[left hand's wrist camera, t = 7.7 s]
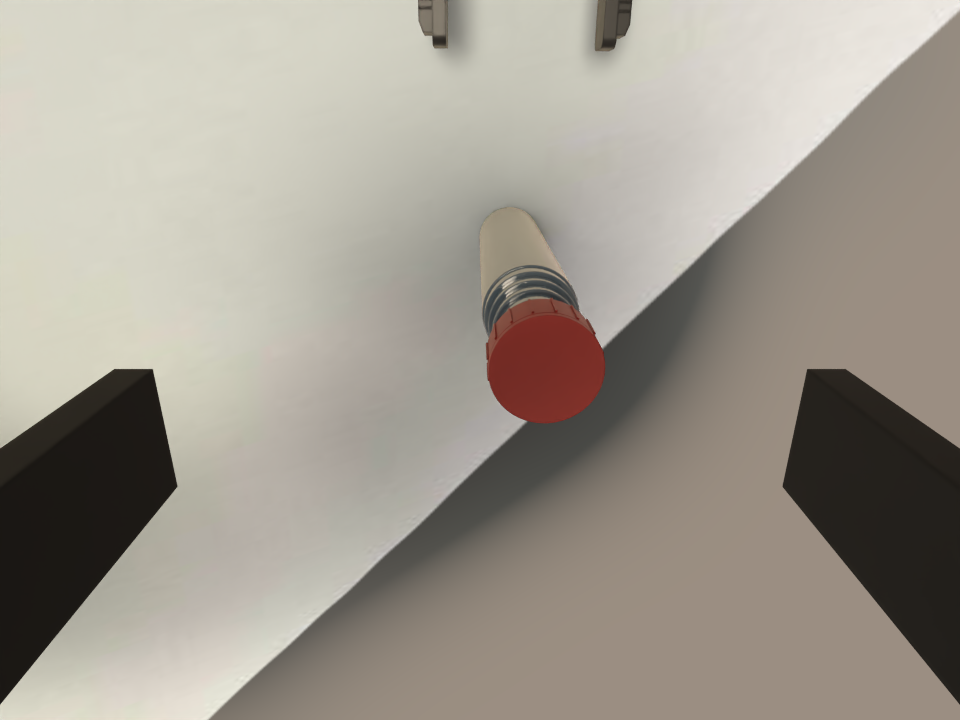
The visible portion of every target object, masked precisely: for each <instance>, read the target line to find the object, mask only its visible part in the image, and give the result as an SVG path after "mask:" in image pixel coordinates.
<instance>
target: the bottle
mask: <svg viewBox="0 0 960 720" xmlns="http://www.w3.org/2000/svg"><path fill="white" fill-rule="evenodd" d="M479 240H480V269H481V297H482V318H483V323H484V327H485V329H486V333H487V335H488V337H489V336H490V333H491V331H492V329H493V324H494V323H495V324H496V322H497V321H498V320H499V318H500V317H501V316H502V315H503V314H504V313H505V312H507V311H508V309H509V308H510V309H511V308H512V307H514V306H516V305H518V304H520V303H522V302H525V301H528V299H530V300H533V299H550V298H553V300H557V301H561V302H563V303H566V304H568V305H570V306H571V305H573V307H574V308H575V309H576V310H577V311H578V312H579V306H578V302H577V297H576V295H575V292H574V290H573V288H572V286H571V284H570V283H569V281H568V279H567V277H566V276H565V274H564V272H563V270H562V269H561V267H560V265H559V263H558V261H557V260H556V258H555V256H554V254H553V253H552V251H551V249H550V247H549V246H548V244H547V242H546V240H545V239H544V237H543V235H542V233H541V232H540V230H539V228H538V226H537V224H536V223H535V221H534V220H533V218H532V217H531V216H530V215H529V214H528V213H526V212H525V211H523V210H521V209H518V208H513V207H506V208H501V209H499V210H496V211H494V212H493V213H492V214H490V215H489V216H488V217H487V218H486V220H485V221H484V223H483V224H482V227H481V230H480V236H479Z"/></svg>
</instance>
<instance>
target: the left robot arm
mask: <svg viewBox="0 0 960 720" xmlns="http://www.w3.org/2000/svg"><path fill="white" fill-rule="evenodd" d="M176 488H177V482H176V477H175V473H174V468H173V463H172V458H171V454H170V449H169V444H168V439H167V435H166V430H165V425H164V420H163V416H162V411H161V406H160V401H159V397H158V392H157V387H156V383H155V378H154V373H153V369H114V370H113V371H111V372H110V373H108V374H107V375H105V376H104V377H102V378H101V379H100V380H98V381H97V382H95V383H94V384H92V385H91V386H90V387H88V388H87V389H85V390H84V391H82V392H81V393H79V394H78V395H77V396H75V397H74V398H72V399H71V400H69V401H68V402H67V403H65V404H64V405H62V406H61V407H59V408H58V409H56V410H55V411H54V412H52V413H51V414H49V415H48V416H46V417H45V418H44V419H42V420H41V421H39V422H38V423H36V424H35V425H33V426H32V427H31V428H29V429H28V430H26V431H25V432H23V433H22V434H21V435H19V436H18V437H16V438H15V439H13V440H12V441H10V442H9V443H8V444H6V445H5V446H3V447H2V448H0V704H1V703H2V702H3V700H4V699H5V698H6V697H7V695H8V694H9V693H10V692H11V691H12V689H13V688H14V687H15V686H16V684H17V683H18V682H19V681H20V679H21V678H22V677H23V676H24V675H25V673H26V672H27V671H28V670H29V668H30V667H31V666H32V665H33V664H34V662H35V661H36V660H37V659H38V657H39V656H40V655H41V654H42V652H43V651H44V650H45V649H46V648H47V646H48V645H49V644H50V643H51V641H52V640H53V639H54V638H55V636H56V635H57V634H58V633H59V632H60V630H61V629H62V628H63V627H64V625H65V624H66V623H67V622H68V621H69V619H70V618H71V617H72V616H73V614H74V613H75V612H76V611H77V609H78V608H79V607H80V606H81V605H82V603H83V602H84V601H85V600H86V598H87V597H88V596H89V595H90V593H91V592H92V591H93V590H94V589H95V587H96V586H97V585H98V584H99V582H100V581H101V580H102V579H103V578H104V576H105V575H106V574H107V573H108V571H109V570H110V569H111V568H112V566H113V565H114V564H115V563H116V562H117V560H118V559H119V558H120V557H121V555H122V554H123V553H124V552H125V550H126V549H127V548H128V547H129V546H130V544H131V543H132V542H133V541H134V539H135V538H136V537H137V536H138V535H139V533H140V532H141V531H142V530H143V528H144V527H145V526H146V525H147V523H148V522H149V521H150V520H151V519H152V517H153V516H154V515H155V514H156V512H157V511H158V510H159V509H160V507H161V506H162V505H163V504H164V503H165V501H166V500H167V499H168V498H169V496H170V495H171V494H172V493H173V492H174V490H175V489H176ZM783 488H784V489H785V490H786V491H787V493H788V494H789V495H790V496H791V498H792V499H793V500H794V501H795V503H796V504H797V505H798V506H799V507H800V509H801V510H802V511H803V512H804V514H805V515H806V516H807V517H808V519H809V520H810V521H811V522H812V523H813V525H814V526H815V527H816V528H817V530H818V531H819V532H820V533H821V535H822V536H823V537H824V538H825V539H826V541H827V542H828V543H829V544H830V546H831V547H832V548H833V549H834V550H835V552H836V553H837V554H838V555H839V557H840V558H841V559H842V560H843V562H844V563H845V564H846V565H847V566H848V568H849V569H850V570H851V571H852V573H853V574H854V575H855V576H856V577H857V579H858V580H859V581H860V582H861V584H862V585H863V586H864V587H865V589H866V590H867V591H868V592H869V593H870V595H871V596H872V597H873V598H874V600H875V601H876V602H877V603H878V605H879V606H880V607H881V608H882V609H883V611H884V612H885V613H886V614H887V616H888V617H889V618H890V619H891V620H892V622H893V623H894V624H895V625H896V627H897V628H898V629H899V630H900V632H901V633H902V634H903V635H904V636H905V638H906V639H907V640H908V641H909V643H910V644H911V645H912V646H913V648H914V649H915V650H916V651H917V652H918V654H919V655H920V656H921V657H922V659H923V660H924V661H925V662H926V663H927V665H928V666H929V667H930V668H931V670H932V671H933V672H934V673H935V675H936V676H937V677H938V678H939V679H940V681H941V682H942V683H943V684H944V686H945V687H946V688H947V689H948V691H949V692H950V693H951V694H952V695H953V697H954V698H955V699H956V700H957V702H958V703H959V704H960V448H958V447H957V446H955V445H954V444H952V443H951V442H949V441H948V440H947V439H945V438H944V437H942V436H941V435H939V434H938V433H937V432H935V431H934V430H932V429H931V428H929V427H928V426H927V425H925V424H924V423H922V422H921V421H919V420H918V419H916V418H915V417H914V416H912V415H911V414H909V413H908V412H906V411H905V410H904V409H902V408H901V407H899V406H898V405H896V404H895V403H893V402H892V401H891V400H889V399H888V398H886V397H885V396H883V395H882V394H881V393H879V392H878V391H876V390H875V389H873V388H872V387H870V386H869V385H868V384H866V383H865V382H863V381H862V380H860V379H859V378H858V377H856V376H855V375H853V374H852V373H850V372H849V371H847V370H846V369H807V373H806V378H805V383H804V387H803V392H802V397H801V401H800V406H799V411H798V416H797V421H796V425H795V430H794V435H793V439H792V444H791V449H790V454H789V458H788V463H787V468H786V473H785V477H784V482H783Z"/></svg>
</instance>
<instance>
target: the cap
mask: <svg viewBox="0 0 960 720" xmlns="http://www.w3.org/2000/svg"><path fill="white" fill-rule="evenodd" d="M595 334H596V333H595V331H594V329H593V328H592V326H591V324H590V322H589V320H588V319H585V318H584V317H583V316H582V315H581V314H580V312H578V311H577V310H576V309H575V308H574V307H573V305H571V306H570V305H568V304H566V303H563V302H561V301H557V300H553V298H550V299H533V300H530V299H528V301H525V302H522V303H520V304H518V305H516V306H514V307H512V308H511V309H510V308H509V309H508V311H507V312H505V313H504V314H503V315H502V316H501V317H500V318H499V320H498V321H497V322H496V324H495V323H494V324H493V329H492V331H491V333H490V336H489V340H488V343H486V357H487V360H488V363H487V377H488V381H489V382H490V386H491V389H492V391H493V394H494V395H495V397H496V399H497V400H498V401H499V403H500V404H501V405H502V406H503V407H504V408H505V409H506V410H507V411H509V412H510V413H511V414H513V415H515V416H517V417H518V418H521V419H523V420H526V421H530V422H536V423H554V422H558V421H563V420H566V419H568V418H570V417H573V416H575V415H576V414H578V413H580V412H581V411H582V410H584V409H585V408H586V407H587V406H588V405H589V404H590V403H591V402H592V401H593V400H594V398H595V397H596V395H597V394H598V392H599V390H600V388H601V386H602V383H603V379H604V375H605V359H604V352H603V350H602V348H601V346H600V344H599V342H598V340H597V338H596V337H595Z"/></svg>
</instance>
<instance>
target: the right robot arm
mask: <svg viewBox="0 0 960 720" xmlns="http://www.w3.org/2000/svg"><path fill="white" fill-rule="evenodd" d="M631 7H632V0H598V8H597V23H596V37H595V50H596V51H610V50H612V49H614V48H615V45H616V39H620V38H621V37H623V36H625V35H626V32H627V30H628V28H629V26H630V19H631ZM418 12H419V23H420V26H421V28H422V31H423V33H424V35H425V36H432V37H433V46H434V48H448V0H418Z"/></svg>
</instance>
